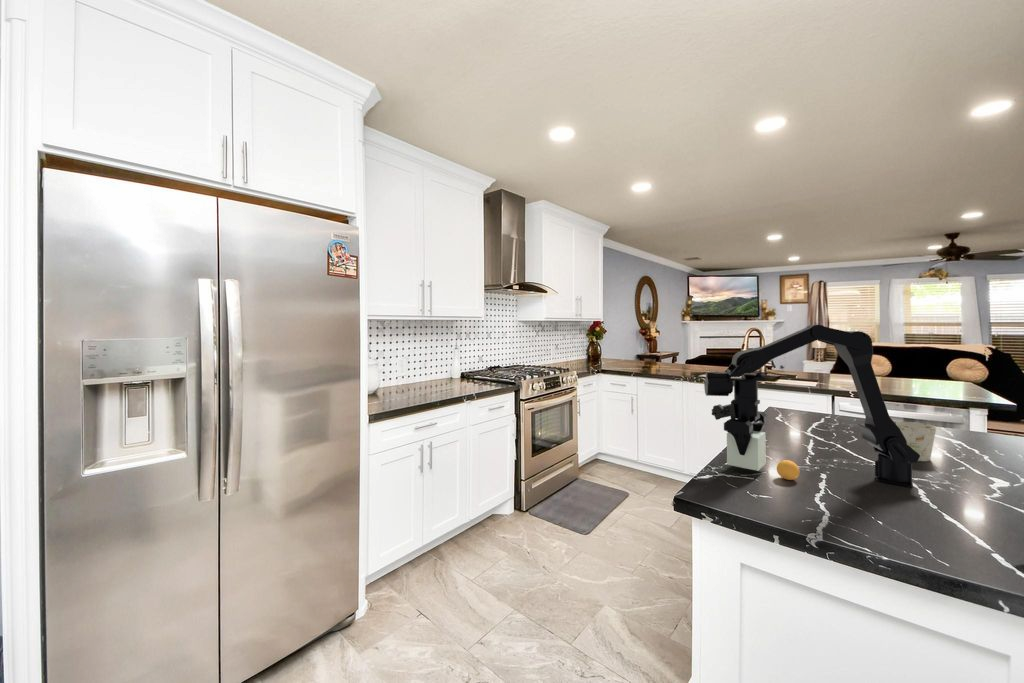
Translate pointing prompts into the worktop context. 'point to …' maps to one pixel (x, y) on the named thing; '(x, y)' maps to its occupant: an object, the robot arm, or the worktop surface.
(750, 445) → the pale green block
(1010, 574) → the worktop surface
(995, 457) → the worktop surface
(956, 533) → the worktop surface
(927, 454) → the mug
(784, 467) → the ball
